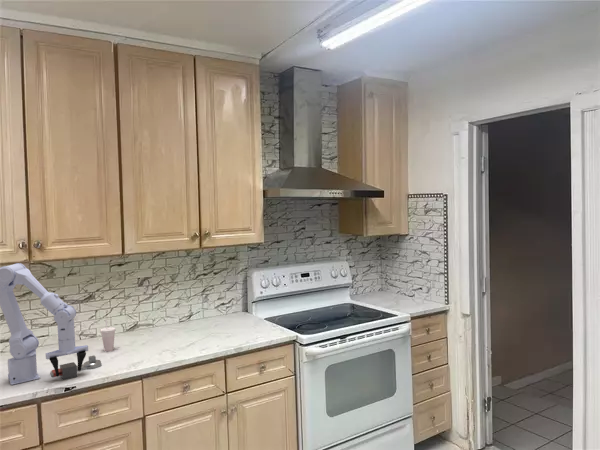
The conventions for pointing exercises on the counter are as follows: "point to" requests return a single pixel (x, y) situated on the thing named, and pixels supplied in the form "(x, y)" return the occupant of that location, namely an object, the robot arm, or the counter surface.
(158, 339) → the counter surface
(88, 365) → the ratchet
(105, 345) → the smoothie
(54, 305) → the robot arm
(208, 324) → the counter surface
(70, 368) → the charcoal grey cube
